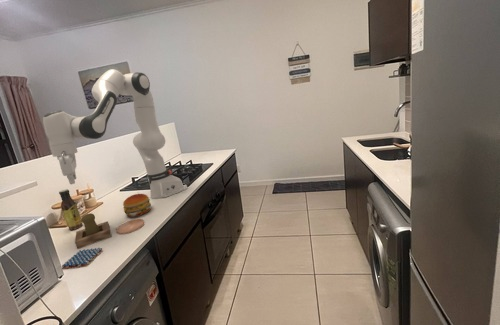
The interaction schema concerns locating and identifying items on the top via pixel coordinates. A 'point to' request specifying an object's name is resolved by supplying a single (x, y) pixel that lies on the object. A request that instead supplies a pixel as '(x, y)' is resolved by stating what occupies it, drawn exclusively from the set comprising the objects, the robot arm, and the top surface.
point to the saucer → (130, 226)
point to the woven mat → (82, 258)
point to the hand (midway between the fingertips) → (73, 181)
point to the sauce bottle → (70, 210)
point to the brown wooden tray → (85, 240)
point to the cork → (90, 224)
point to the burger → (136, 205)
